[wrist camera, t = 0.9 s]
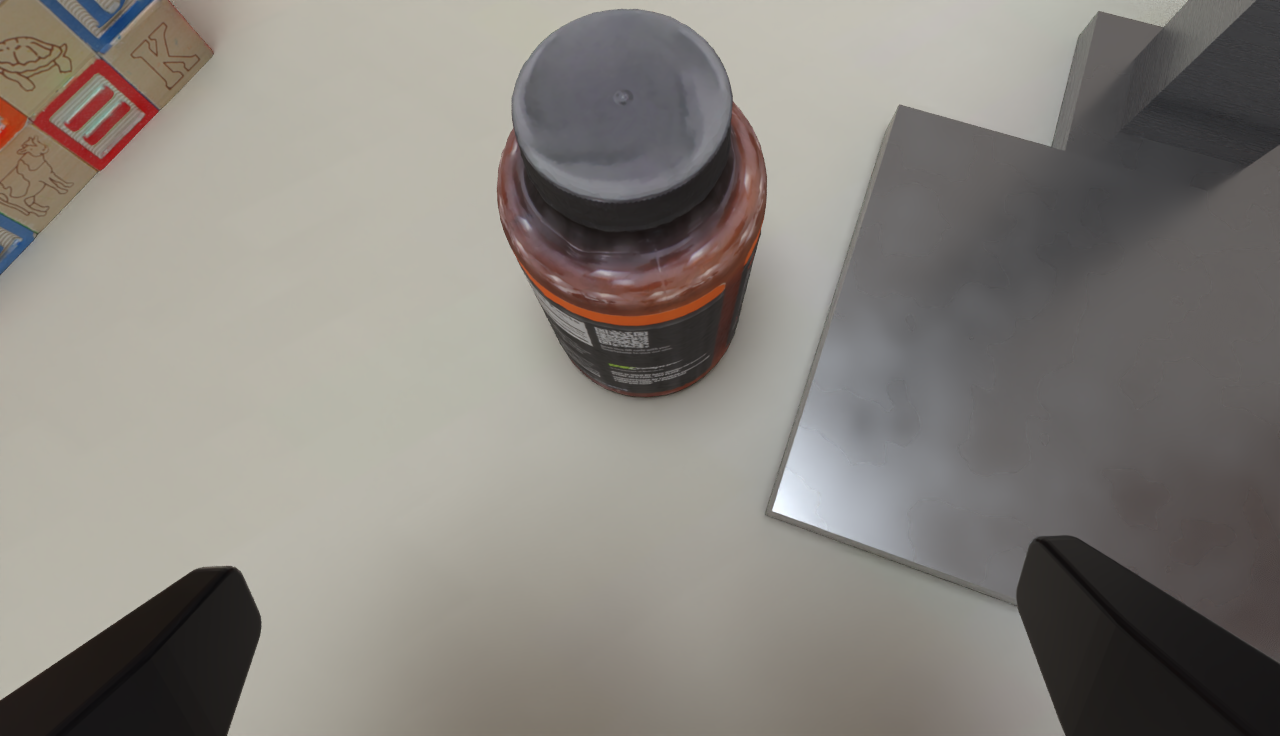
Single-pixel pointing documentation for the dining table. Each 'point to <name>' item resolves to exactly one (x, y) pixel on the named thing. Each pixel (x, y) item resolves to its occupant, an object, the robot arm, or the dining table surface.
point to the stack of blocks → (79, 96)
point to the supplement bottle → (633, 198)
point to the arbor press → (1070, 331)
